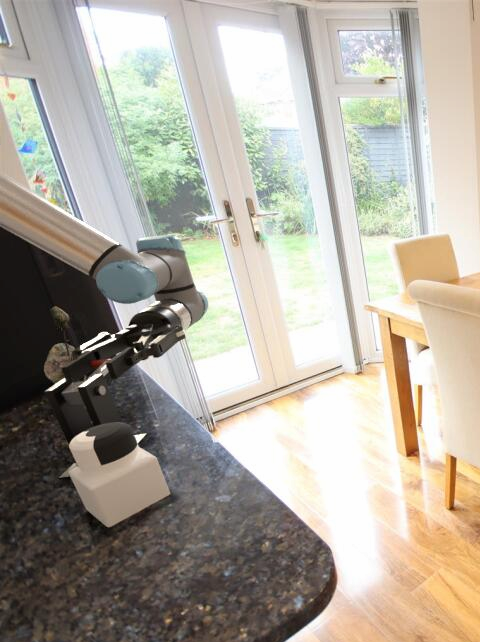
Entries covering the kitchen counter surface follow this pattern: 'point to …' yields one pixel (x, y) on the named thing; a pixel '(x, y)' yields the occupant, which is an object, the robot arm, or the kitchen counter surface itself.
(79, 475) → the medicine bottle
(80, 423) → the bracket
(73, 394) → the lever
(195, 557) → the kitchen counter surface
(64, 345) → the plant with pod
